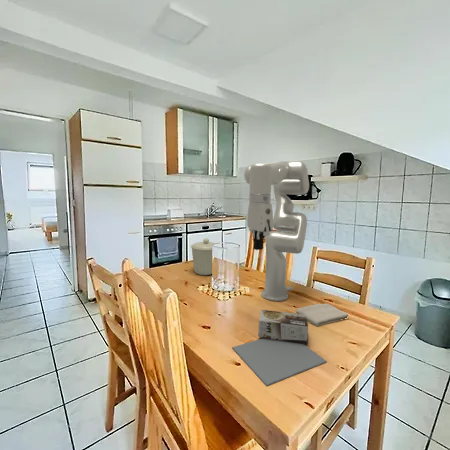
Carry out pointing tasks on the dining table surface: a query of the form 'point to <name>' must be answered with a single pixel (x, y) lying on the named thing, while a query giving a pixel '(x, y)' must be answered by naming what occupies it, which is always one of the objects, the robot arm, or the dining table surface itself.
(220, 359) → the dining table surface
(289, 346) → the mat
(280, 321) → the coffee box
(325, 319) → the washcloth
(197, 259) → the canister
